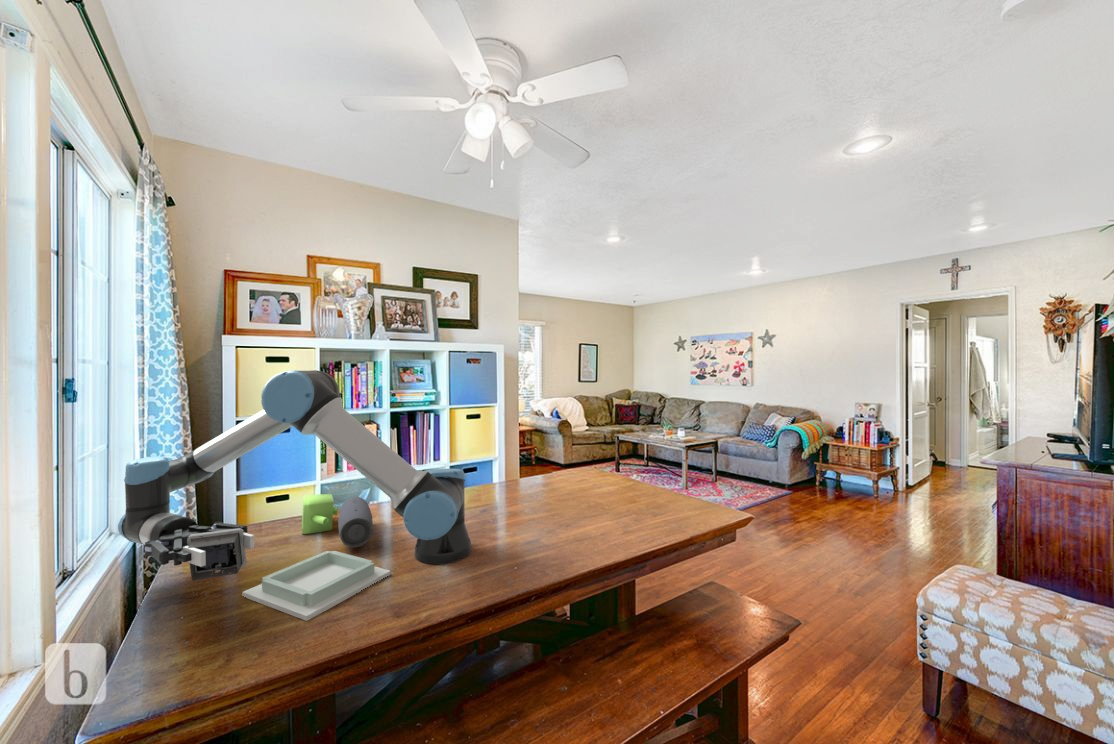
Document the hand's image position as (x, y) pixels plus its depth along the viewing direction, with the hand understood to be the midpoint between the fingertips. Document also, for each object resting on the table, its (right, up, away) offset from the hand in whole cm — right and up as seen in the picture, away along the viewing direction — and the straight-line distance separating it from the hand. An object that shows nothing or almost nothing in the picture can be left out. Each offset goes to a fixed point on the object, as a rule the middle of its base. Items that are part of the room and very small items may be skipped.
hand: (228, 550), depth 88 cm
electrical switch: (-4, -6, +2) cm, 8 cm away
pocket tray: (+10, -15, +15) cm, 23 cm away
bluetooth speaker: (+5, -14, +44) cm, 47 cm away
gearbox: (-10, -14, +53) cm, 55 cm away
